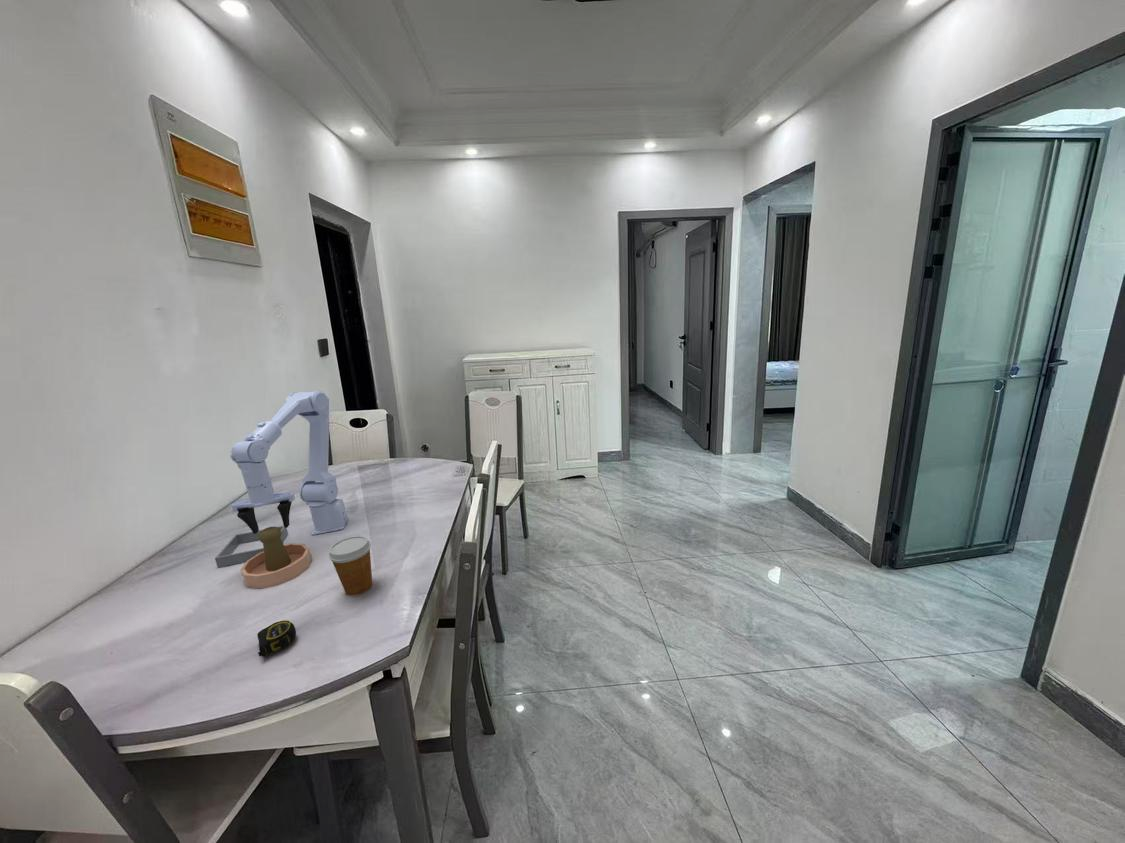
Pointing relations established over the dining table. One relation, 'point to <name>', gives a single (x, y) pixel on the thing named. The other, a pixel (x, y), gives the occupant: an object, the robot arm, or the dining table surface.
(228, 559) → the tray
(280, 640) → the tape measure
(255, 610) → the dining table surface
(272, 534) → the cork
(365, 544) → the disposable coffee cup
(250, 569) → the bowl
